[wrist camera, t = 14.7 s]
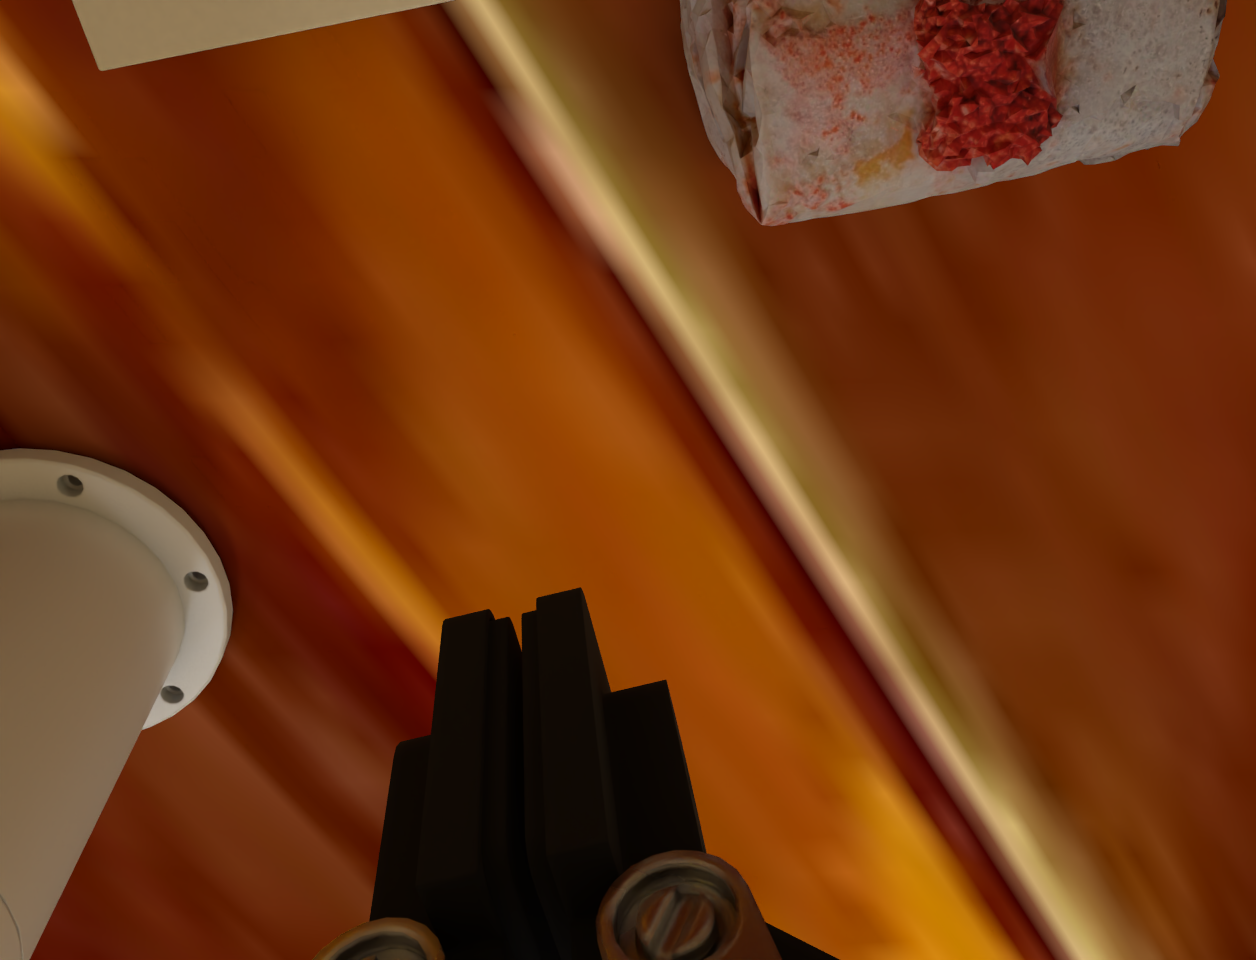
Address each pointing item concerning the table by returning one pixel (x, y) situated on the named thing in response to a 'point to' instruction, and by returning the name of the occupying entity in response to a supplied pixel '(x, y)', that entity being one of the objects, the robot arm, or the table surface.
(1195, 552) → the table surface
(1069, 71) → the food item
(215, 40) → the control block
